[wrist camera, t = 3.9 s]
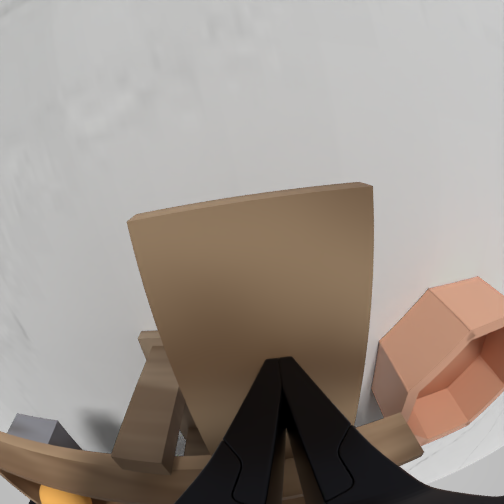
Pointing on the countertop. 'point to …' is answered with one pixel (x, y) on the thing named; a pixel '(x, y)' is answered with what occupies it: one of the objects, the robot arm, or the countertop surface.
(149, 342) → the stand
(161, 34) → the countertop surface
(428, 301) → the pink octagonal bowl
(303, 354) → the lever
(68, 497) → the ball
